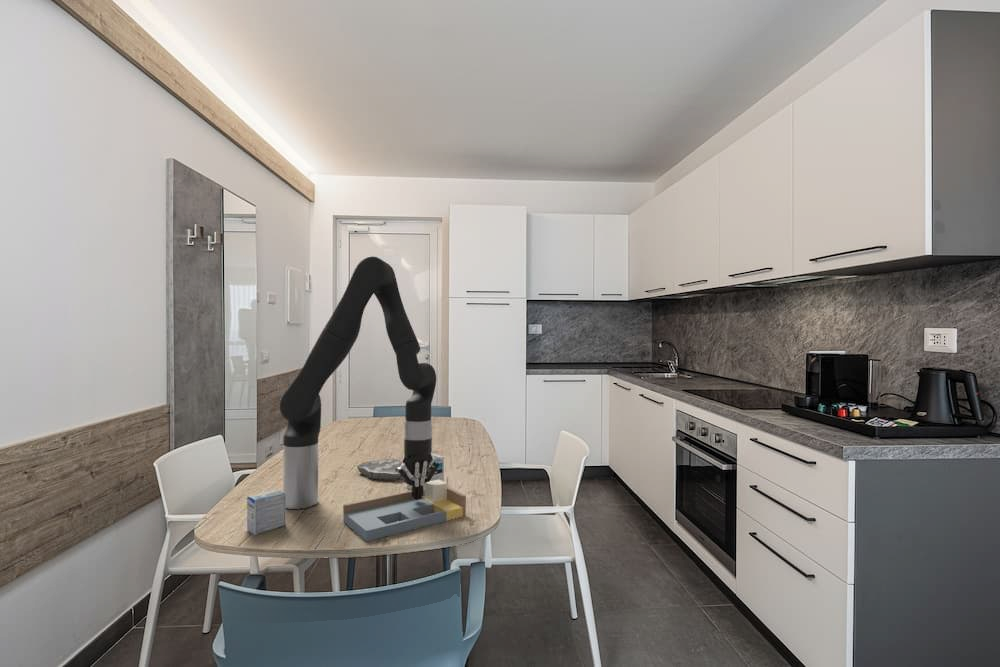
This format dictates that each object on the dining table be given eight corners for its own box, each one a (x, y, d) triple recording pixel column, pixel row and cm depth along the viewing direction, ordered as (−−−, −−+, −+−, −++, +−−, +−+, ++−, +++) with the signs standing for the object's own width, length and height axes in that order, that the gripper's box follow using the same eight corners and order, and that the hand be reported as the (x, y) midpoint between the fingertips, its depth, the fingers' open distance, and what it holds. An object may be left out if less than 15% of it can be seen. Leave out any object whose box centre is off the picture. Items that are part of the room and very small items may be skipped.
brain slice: (425, 472, 180) (425, 463, 180) (394, 485, 165) (394, 475, 165) (382, 464, 189) (382, 456, 189) (348, 476, 174) (348, 467, 174)
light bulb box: (444, 491, 159) (444, 456, 159) (427, 496, 154) (427, 460, 154) (422, 483, 166) (423, 450, 166) (405, 488, 161) (406, 454, 161)
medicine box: (277, 521, 133) (277, 488, 133) (286, 526, 130) (286, 492, 130) (246, 530, 127) (246, 496, 127) (254, 535, 124) (255, 500, 124)
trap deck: (343, 521, 133) (343, 500, 133) (437, 500, 150) (437, 481, 150) (366, 541, 121) (366, 518, 121) (465, 515, 138) (465, 495, 138)
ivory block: (424, 497, 145) (425, 482, 145) (438, 494, 147) (438, 479, 147) (432, 502, 141) (432, 486, 141) (446, 499, 144) (447, 483, 144)
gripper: (432, 431, 148) (431, 490, 148) (389, 436, 140) (389, 499, 140) (445, 435, 142) (445, 497, 142) (402, 441, 134) (401, 507, 134)
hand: (417, 498), depth 141 cm, fingers closed
